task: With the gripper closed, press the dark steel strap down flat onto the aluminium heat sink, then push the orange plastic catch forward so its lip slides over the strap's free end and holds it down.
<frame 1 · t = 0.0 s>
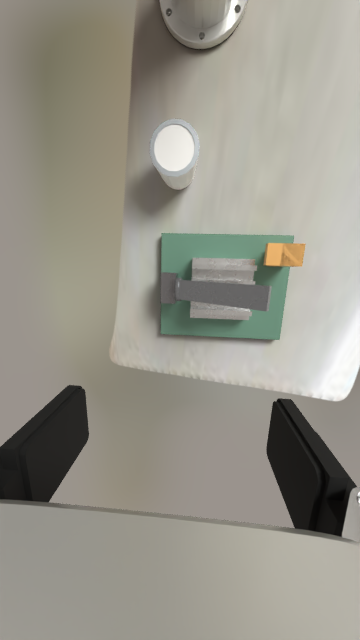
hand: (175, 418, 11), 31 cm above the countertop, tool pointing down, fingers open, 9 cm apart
catch: (277, 256, 33), point 5 cm above the countertop, slide at 0.0 cm
heat sink: (218, 287, 40), resting on circuit board
circuit board: (221, 287, 40), on the countertop
strap: (215, 293, 30), point 10 cm above the countertop, hinge at 35.0°
white grey cylinder: (178, 171, 36), on the countertop
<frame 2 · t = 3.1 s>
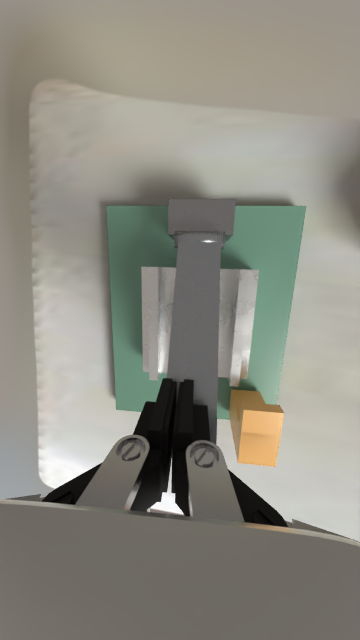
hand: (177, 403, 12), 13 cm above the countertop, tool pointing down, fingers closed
catch: (251, 413, 20), point 5 cm above the countertop, slide at 0.0 cm
heat sink: (197, 315, 23), resting on circuit board
circuit board: (196, 320, 23), on the countertop
strap: (194, 329, 14), point 9 cm above the countertop, hinge at 29.4°, touching gripper
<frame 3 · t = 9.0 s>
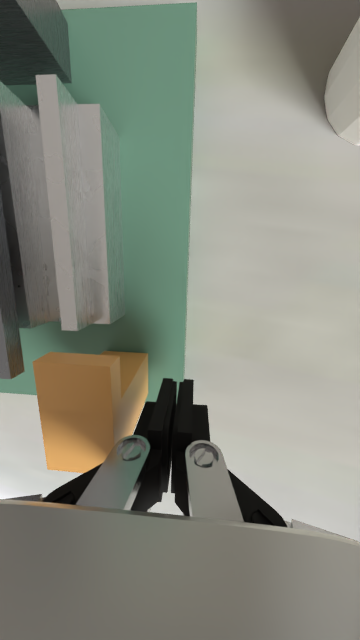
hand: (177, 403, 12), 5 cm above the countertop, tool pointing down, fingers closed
catch: (107, 382, 12), point 5 cm above the countertop, slide at 0.4 cm, touching gripper
heat sink: (58, 236, 15), resting on circuit board
circuit board: (59, 243, 15), on the countertop
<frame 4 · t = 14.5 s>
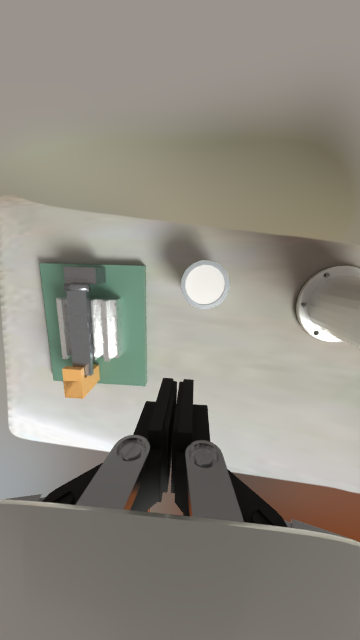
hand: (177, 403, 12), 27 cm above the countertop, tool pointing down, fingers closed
catch: (82, 374, 37), point 5 cm above the countertop, slide at 6.6 cm
heat sink: (98, 323, 40), resting on circuit board
circuit board: (98, 325, 40), on the countertop
strap: (80, 330, 34), point 6 cm above the countertop, hinge at 1.2°
white grey cylinder: (203, 282, 37), on the countertop
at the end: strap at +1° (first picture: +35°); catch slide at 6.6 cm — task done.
